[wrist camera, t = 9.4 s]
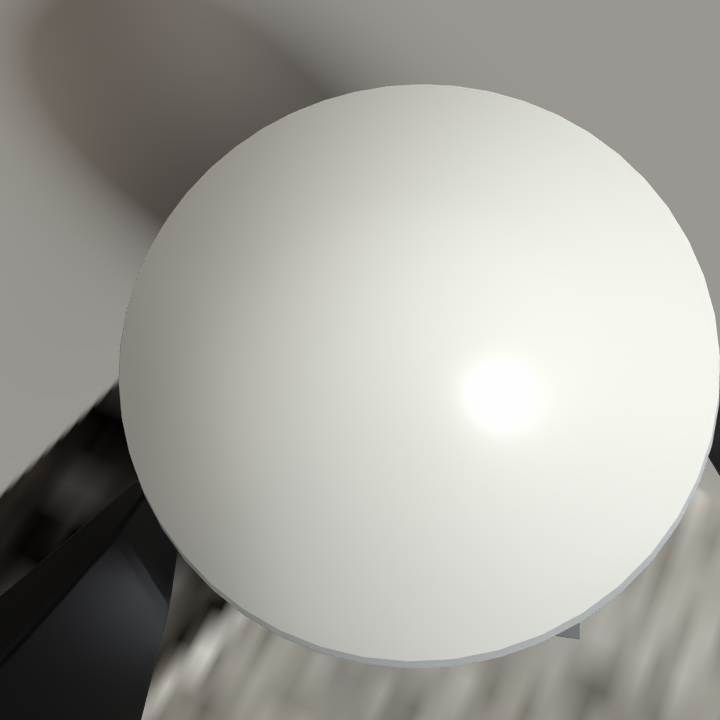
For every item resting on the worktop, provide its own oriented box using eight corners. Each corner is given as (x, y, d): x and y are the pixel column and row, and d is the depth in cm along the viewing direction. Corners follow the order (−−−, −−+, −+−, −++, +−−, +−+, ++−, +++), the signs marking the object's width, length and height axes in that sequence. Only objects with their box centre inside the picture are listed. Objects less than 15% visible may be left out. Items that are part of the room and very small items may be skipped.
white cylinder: (443, 577, 16) (486, 858, 3) (311, 473, 17) (-4, 404, 5) (537, 437, 17) (860, 248, 4) (403, 347, 18) (338, 0, 5)
